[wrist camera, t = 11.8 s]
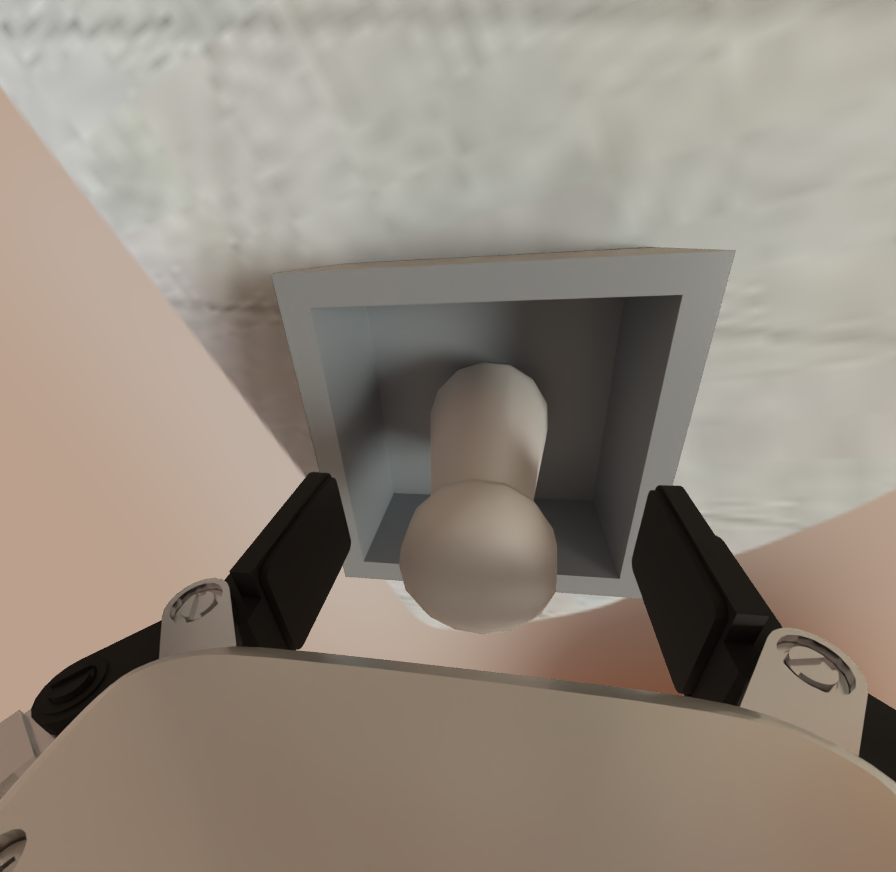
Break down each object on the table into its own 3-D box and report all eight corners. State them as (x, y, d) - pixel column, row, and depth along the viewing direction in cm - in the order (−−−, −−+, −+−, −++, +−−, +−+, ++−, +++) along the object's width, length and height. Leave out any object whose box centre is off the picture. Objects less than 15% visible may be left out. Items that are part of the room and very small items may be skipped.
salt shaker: (458, 457, 23) (412, 676, 11) (423, 371, 20) (319, 532, 9) (555, 432, 21) (617, 656, 10) (527, 335, 19) (564, 475, 7)
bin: (345, 263, 19) (270, 273, 13) (653, 247, 17) (735, 250, 11) (383, 497, 26) (345, 576, 20) (607, 507, 24) (642, 598, 18)
